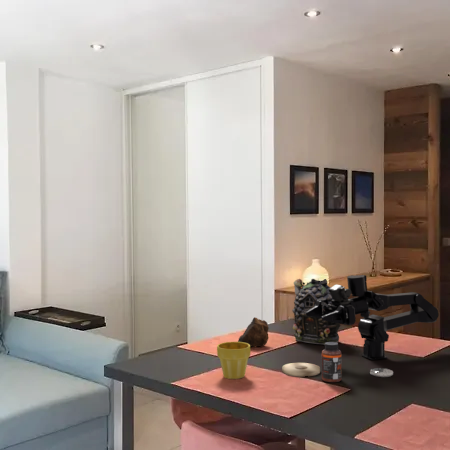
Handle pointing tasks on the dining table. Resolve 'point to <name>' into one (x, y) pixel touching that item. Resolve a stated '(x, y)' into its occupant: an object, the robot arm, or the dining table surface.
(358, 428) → the dining table surface
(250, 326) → the decorative rock
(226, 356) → the plant pot
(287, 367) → the coaster
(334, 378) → the supplement bottle
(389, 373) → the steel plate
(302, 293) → the decorative house
